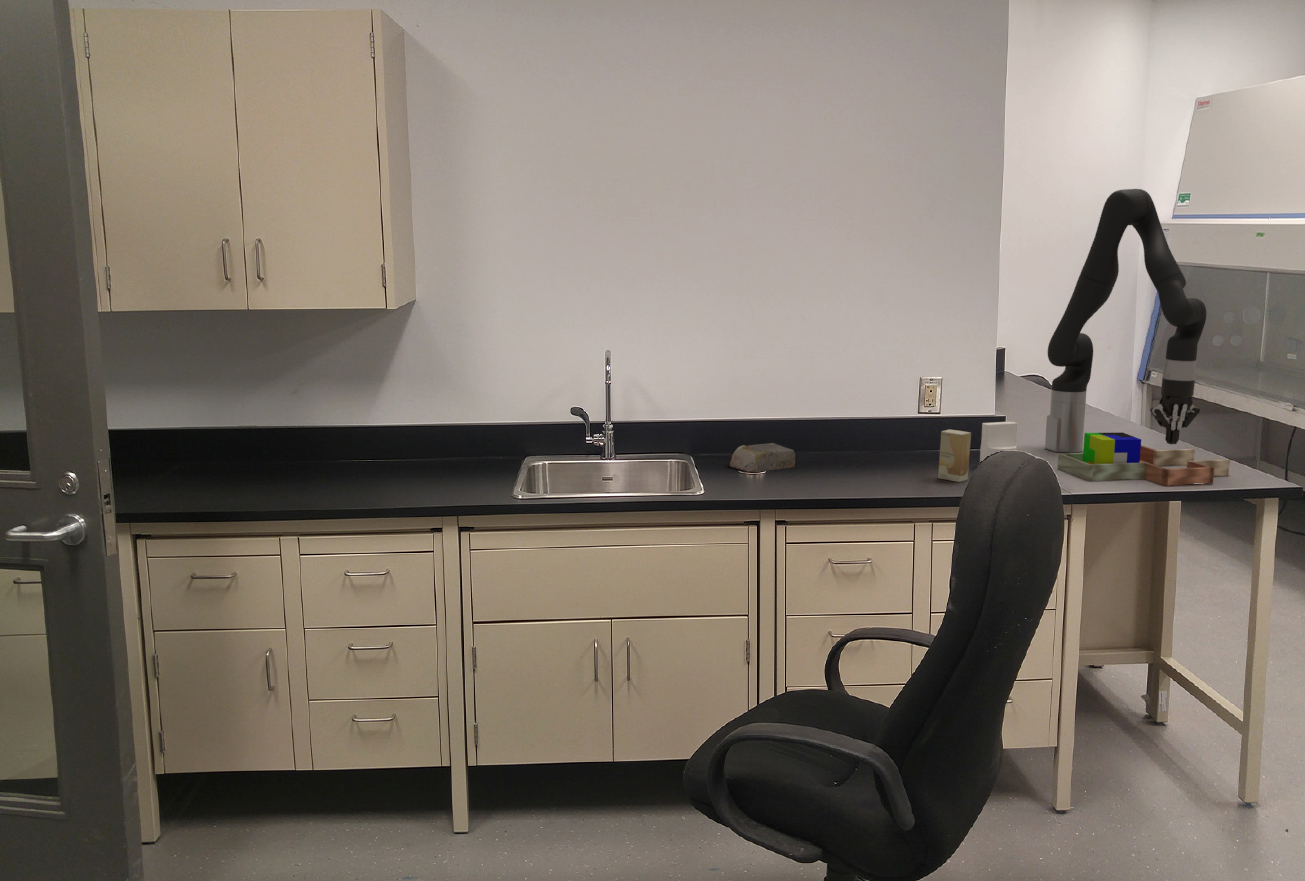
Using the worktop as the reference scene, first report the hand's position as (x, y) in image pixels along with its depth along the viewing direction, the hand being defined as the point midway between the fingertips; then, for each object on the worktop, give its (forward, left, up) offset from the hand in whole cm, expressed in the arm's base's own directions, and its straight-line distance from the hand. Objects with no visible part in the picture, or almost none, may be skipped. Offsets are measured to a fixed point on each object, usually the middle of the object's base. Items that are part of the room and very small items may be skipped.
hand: (1171, 443), depth 277 cm
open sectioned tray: (-8, -1, -7) cm, 11 cm away
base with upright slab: (-42, +10, -7) cm, 44 cm away
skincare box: (-59, -1, -7) cm, 60 cm away
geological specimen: (-102, +23, -8) cm, 105 cm away
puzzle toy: (-17, -1, -7) cm, 19 cm away
